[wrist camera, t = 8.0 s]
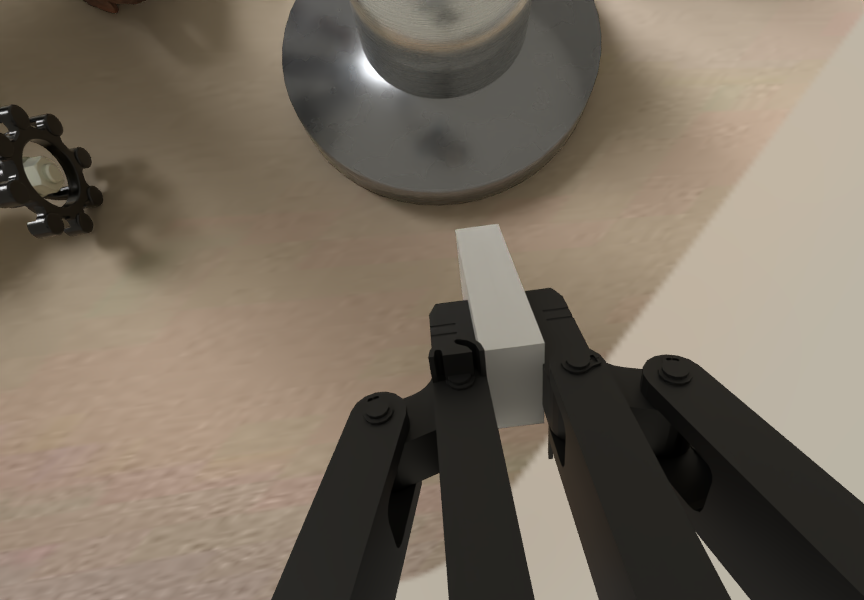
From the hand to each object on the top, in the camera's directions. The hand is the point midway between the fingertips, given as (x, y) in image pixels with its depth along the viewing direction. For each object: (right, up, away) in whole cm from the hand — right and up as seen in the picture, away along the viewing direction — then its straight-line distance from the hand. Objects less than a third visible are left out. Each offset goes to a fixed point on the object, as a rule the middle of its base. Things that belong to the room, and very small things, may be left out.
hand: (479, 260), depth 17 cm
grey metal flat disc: (-1, +12, +10) cm, 16 cm away
